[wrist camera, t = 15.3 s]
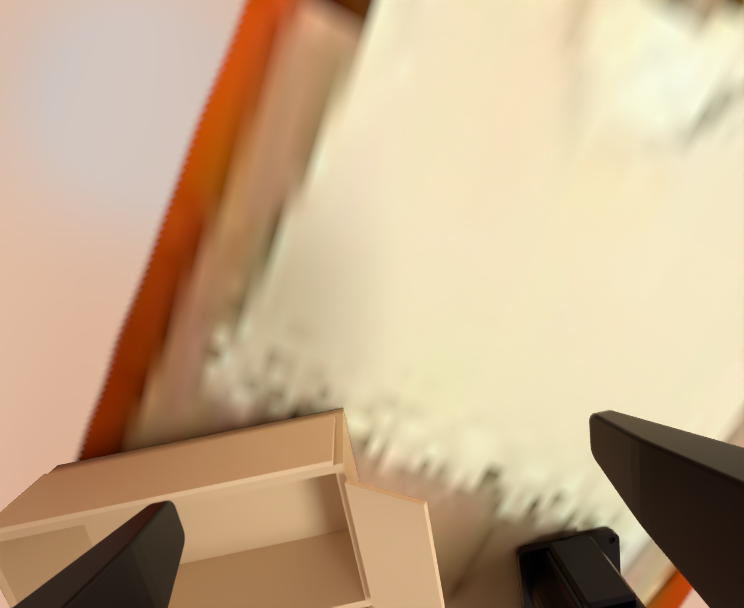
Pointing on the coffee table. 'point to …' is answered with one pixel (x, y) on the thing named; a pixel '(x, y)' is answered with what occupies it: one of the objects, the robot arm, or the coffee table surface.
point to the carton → (209, 516)
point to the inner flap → (395, 547)
